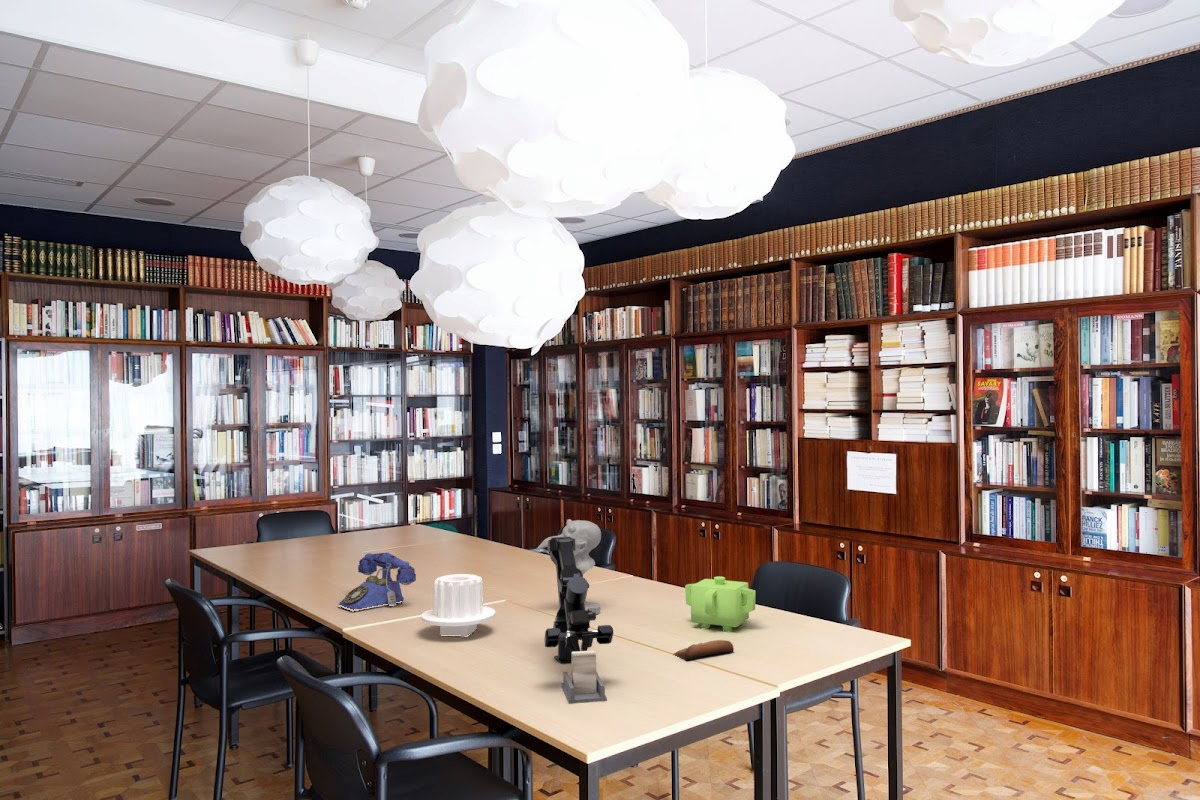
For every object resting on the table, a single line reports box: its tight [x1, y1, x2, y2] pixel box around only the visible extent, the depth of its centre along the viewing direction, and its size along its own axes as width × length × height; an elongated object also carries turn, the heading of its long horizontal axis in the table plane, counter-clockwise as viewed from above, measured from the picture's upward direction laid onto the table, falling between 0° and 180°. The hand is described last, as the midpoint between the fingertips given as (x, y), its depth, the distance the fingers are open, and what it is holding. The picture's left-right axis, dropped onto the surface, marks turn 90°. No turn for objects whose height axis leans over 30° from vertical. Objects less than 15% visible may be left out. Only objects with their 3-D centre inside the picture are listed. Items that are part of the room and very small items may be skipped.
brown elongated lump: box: [672, 639, 734, 662], centre depth 258 cm, size 18×7×7 cm, turn 119°
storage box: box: [684, 575, 756, 632], centre depth 292 cm, size 25×23×17 cm
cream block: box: [571, 650, 597, 694], centre depth 223 cm, size 4×6×10 cm, turn 100°
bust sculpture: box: [536, 518, 602, 615], centre depth 314 cm, size 16×24×35 cm
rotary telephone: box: [338, 552, 417, 610], centre depth 331 cm, size 41×24×20 cm, turn 45°
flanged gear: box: [420, 573, 496, 636], centre depth 286 cm, size 25×25×19 cm
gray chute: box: [561, 671, 608, 704], centre depth 223 cm, size 14×10×4 cm
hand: (582, 664), depth 225 cm, fingers closed, pressing on cream block
